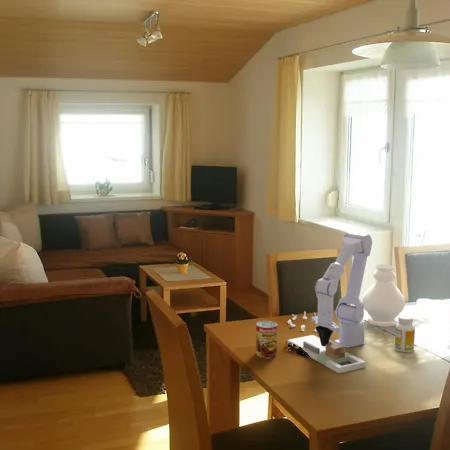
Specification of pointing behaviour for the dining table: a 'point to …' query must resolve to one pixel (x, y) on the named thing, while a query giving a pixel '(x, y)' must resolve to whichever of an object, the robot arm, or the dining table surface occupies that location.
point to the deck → (318, 353)
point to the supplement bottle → (404, 334)
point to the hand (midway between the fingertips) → (324, 345)
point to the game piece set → (302, 325)
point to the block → (335, 350)
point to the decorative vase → (383, 298)
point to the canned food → (266, 338)
